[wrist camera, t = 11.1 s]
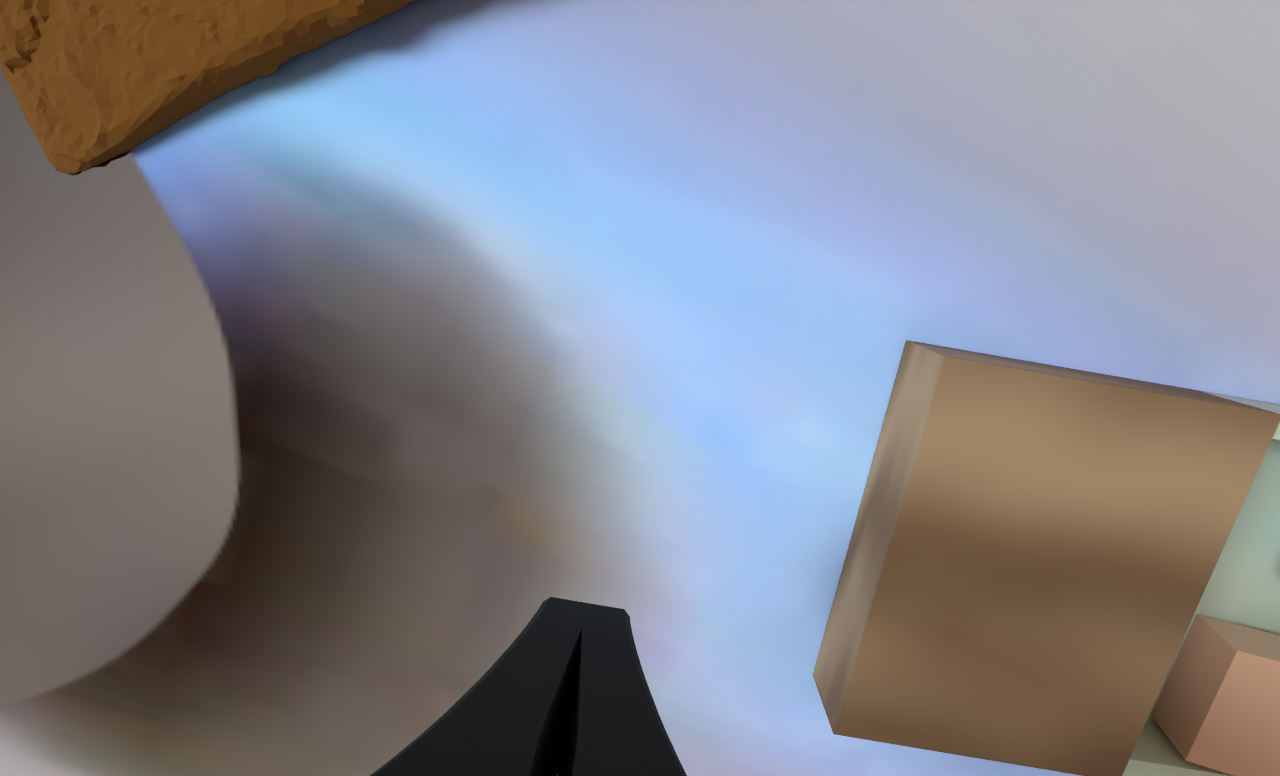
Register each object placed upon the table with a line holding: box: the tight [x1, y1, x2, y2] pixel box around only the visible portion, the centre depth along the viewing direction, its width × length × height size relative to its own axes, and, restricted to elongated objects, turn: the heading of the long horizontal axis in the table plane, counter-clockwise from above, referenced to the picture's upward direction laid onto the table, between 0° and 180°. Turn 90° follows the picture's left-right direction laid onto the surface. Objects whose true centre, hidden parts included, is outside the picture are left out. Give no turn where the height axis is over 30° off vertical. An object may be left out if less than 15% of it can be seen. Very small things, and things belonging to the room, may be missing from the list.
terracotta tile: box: [1152, 614, 1280, 776], centre depth 19 cm, size 4×4×2 cm
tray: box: [1122, 391, 1280, 776], centre depth 19 cm, size 12×7×2 cm, turn 170°
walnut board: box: [813, 340, 1280, 776], centre depth 19 cm, size 12×9×3 cm
